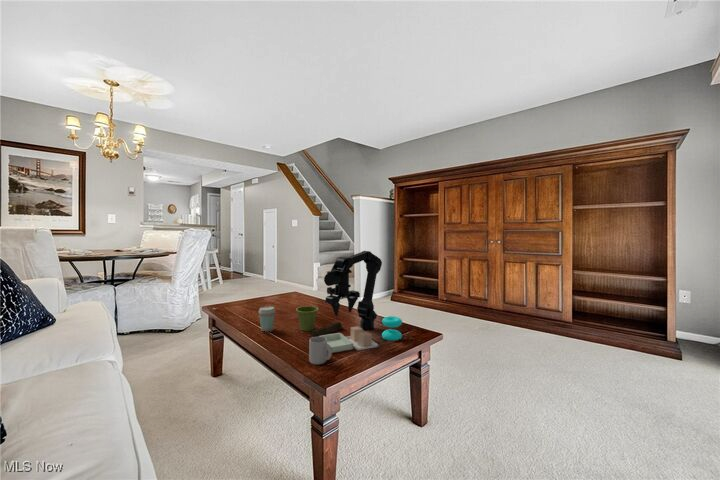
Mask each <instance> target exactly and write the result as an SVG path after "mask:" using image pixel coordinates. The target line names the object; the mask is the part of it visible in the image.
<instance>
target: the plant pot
mask: <svg viewBox="0 0 720 480" xmlns="http://www.w3.org/2000/svg"><path fill="white" fill-rule="evenodd" d="M295 310H296V312H297V316H298V323H299V328H300V331H303V332H312V330H314V329H315V325H316V324H315V323H316V318H317V313H318V310H319V307H317V306H313V305H304V306H299V307H297V308H295Z"/></svg>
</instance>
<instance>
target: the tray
mask: <svg viewBox="0 0 720 480" xmlns="http://www.w3.org/2000/svg"><path fill="white" fill-rule="evenodd" d="M345 337H346V338H347V339H348V340H350V341H351V342H352V343H353V349H355V350H356V351H363V350H368V349H373V348H377V347H379V346H380V345H379V343H377V342H375V341H374V340H372V346H366V347H360V346H359V345H358V341H355V342H354V341H353V340H352V339H351V338H350V337H351V335H349V336H345Z"/></svg>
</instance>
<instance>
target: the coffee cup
mask: <svg viewBox="0 0 720 480" xmlns="http://www.w3.org/2000/svg"><path fill="white" fill-rule="evenodd" d="M258 314H259V322H260V332H262V331H265V332H264V333H267V332H266V331H270V332H273V330H274V322H275V321H274V320H275V314H276V309H275V307H274V306H263V307H260V308H259V310H258Z"/></svg>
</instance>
